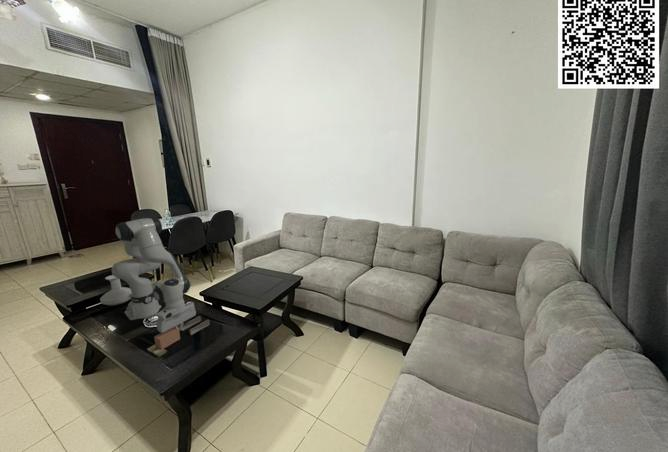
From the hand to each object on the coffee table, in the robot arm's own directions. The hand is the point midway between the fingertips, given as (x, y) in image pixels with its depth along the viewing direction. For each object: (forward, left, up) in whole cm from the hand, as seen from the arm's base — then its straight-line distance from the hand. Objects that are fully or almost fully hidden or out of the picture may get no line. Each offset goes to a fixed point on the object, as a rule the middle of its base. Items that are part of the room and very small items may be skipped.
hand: (179, 330), depth 148 cm
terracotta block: (0, -7, -3) cm, 8 cm away
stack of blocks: (-67, +21, -5) cm, 71 cm away
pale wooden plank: (0, +1, -5) cm, 5 cm away
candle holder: (-84, +5, -5) cm, 84 cm away
